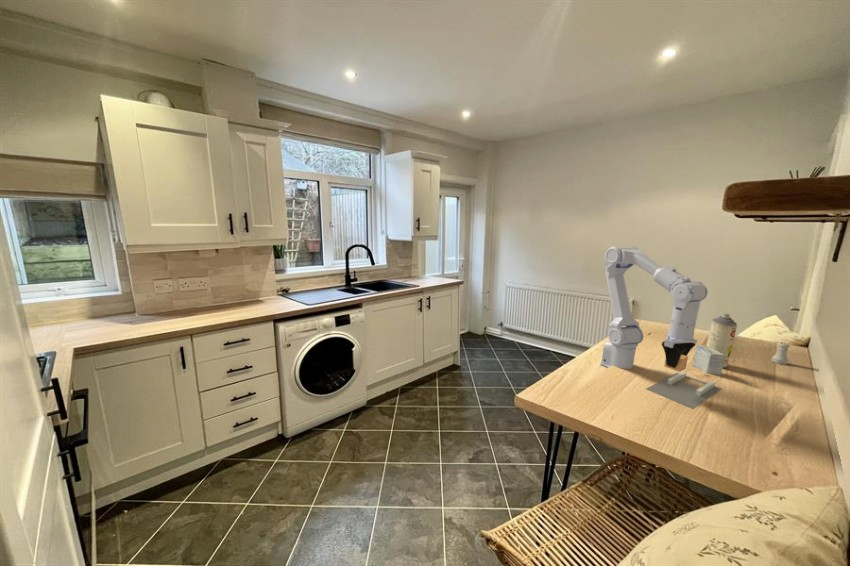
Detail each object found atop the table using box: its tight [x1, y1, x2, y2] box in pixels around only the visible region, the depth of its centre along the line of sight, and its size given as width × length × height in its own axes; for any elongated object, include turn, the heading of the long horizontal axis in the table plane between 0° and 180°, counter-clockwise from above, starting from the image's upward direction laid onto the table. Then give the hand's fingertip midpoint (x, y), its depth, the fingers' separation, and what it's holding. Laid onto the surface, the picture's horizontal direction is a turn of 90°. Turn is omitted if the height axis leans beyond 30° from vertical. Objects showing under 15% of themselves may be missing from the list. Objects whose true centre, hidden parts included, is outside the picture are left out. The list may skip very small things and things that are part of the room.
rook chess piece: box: [770, 341, 791, 366], centre depth 122 cm, size 4×4×8 cm
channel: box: [645, 370, 723, 410], centre depth 99 cm, size 12×22×3 cm, turn 121°
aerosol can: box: [706, 312, 738, 369], centre depth 118 cm, size 7×7×20 cm
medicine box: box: [692, 345, 725, 377], centre depth 112 cm, size 8×4×9 cm, turn 168°
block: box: [664, 355, 689, 373], centre depth 96 cm, size 4×4×4 cm
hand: (674, 364), depth 96 cm, fingers closed on block, 4 cm apart
